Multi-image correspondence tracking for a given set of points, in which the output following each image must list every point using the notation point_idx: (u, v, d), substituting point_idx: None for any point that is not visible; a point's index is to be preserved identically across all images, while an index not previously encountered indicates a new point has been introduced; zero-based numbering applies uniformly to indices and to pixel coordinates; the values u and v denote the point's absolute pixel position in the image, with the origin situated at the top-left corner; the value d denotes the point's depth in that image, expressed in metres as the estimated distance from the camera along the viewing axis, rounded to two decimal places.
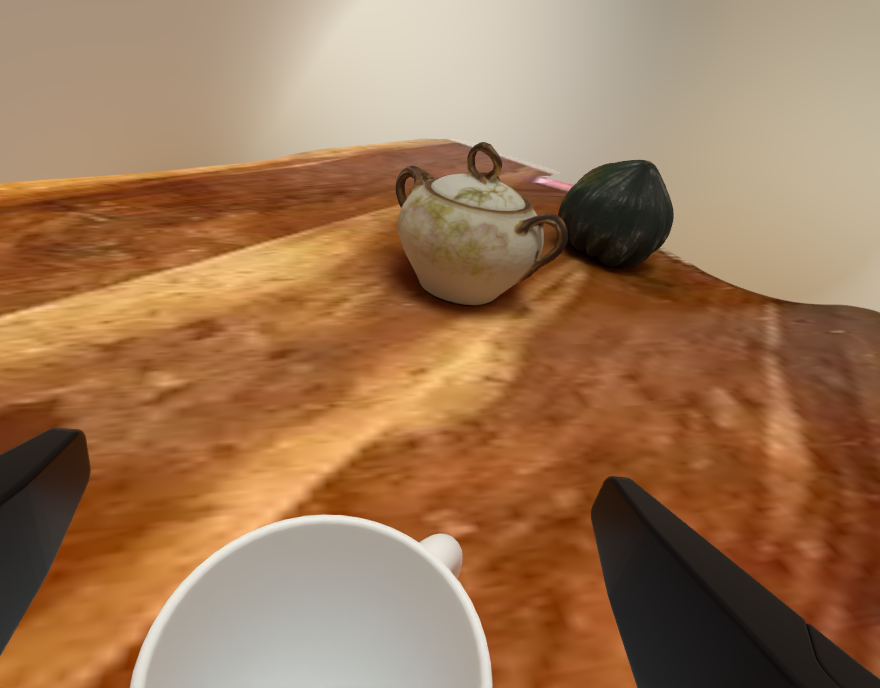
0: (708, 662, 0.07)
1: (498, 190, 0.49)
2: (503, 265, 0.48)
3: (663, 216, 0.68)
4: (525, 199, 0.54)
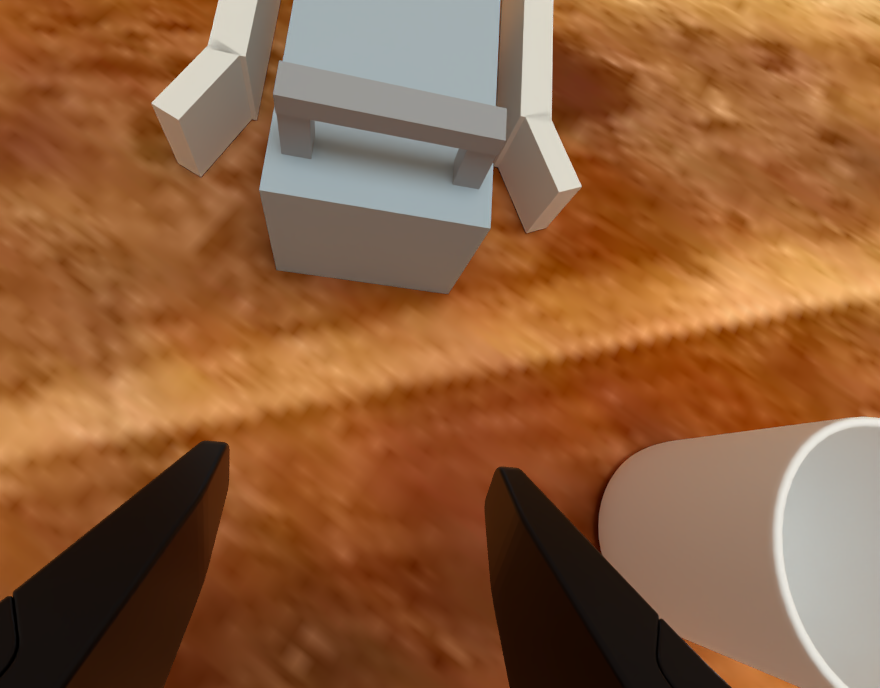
0: (559, 660, 0.07)
1: None
2: None
3: None
4: None
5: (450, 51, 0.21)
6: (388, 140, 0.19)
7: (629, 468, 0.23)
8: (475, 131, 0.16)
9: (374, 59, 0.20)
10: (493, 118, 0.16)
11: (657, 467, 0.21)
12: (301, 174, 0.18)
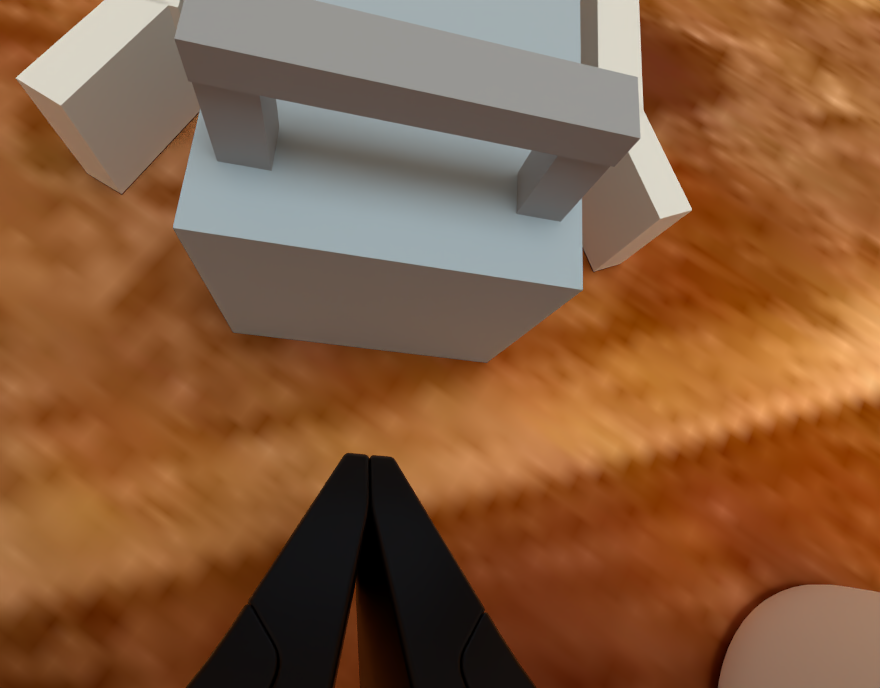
0: (382, 656, 0.06)
1: None
2: None
3: None
4: None
5: None
6: (408, 136, 0.11)
7: (768, 640, 0.15)
8: (583, 120, 0.08)
9: (383, 3, 0.12)
10: (615, 95, 0.09)
11: (833, 664, 0.13)
12: (254, 197, 0.10)
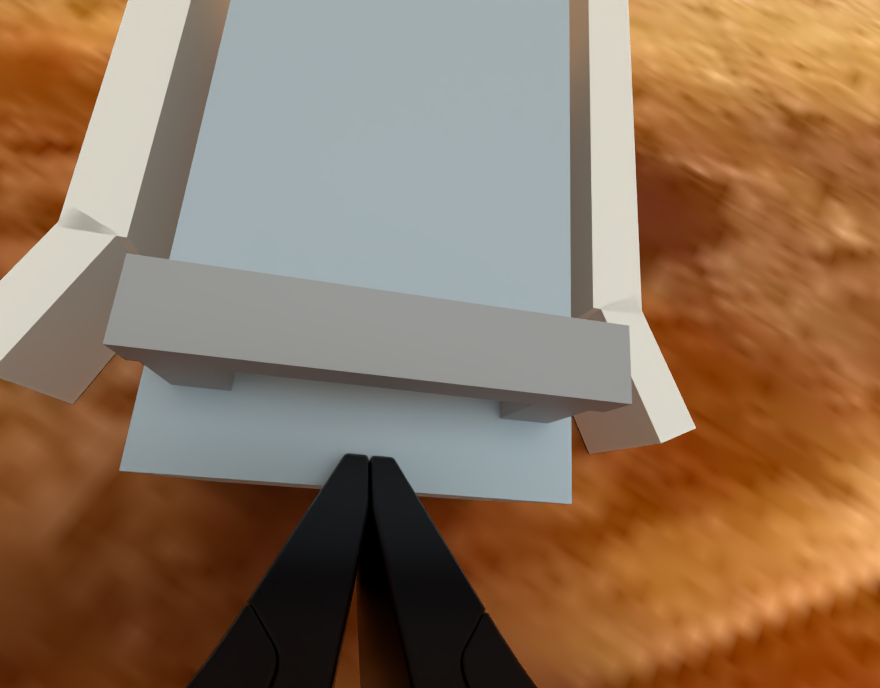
0: (383, 656, 0.06)
1: None
2: None
3: None
4: None
5: (490, 157, 0.12)
6: None
7: None
8: (568, 387, 0.07)
9: (358, 180, 0.11)
10: (604, 352, 0.08)
11: None
12: (210, 425, 0.09)
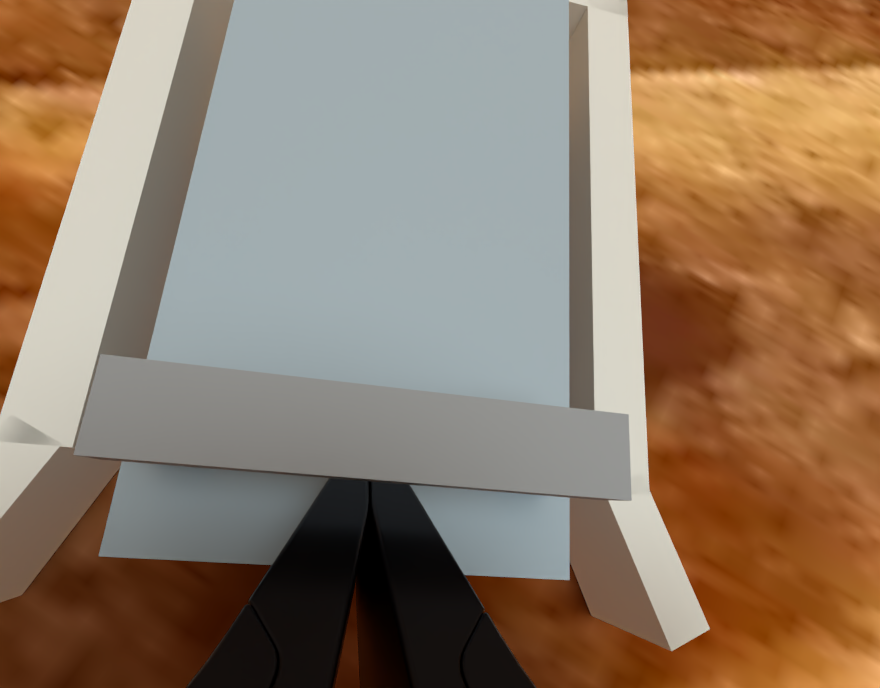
0: (382, 656, 0.06)
1: None
2: None
3: None
4: None
5: (487, 212, 0.12)
6: None
7: None
8: (564, 484, 0.07)
9: (351, 239, 0.11)
10: (602, 444, 0.07)
11: None
12: (195, 505, 0.09)
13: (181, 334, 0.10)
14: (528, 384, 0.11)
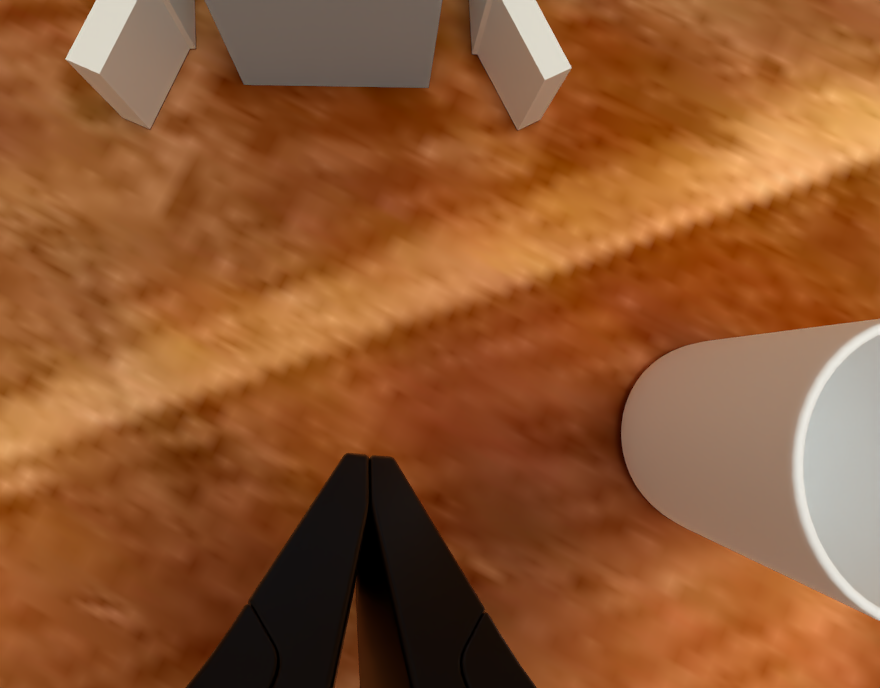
0: (382, 656, 0.06)
1: None
2: None
3: None
4: None
5: None
6: None
7: (649, 379, 0.22)
8: None
9: None
10: None
11: (677, 379, 0.20)
12: None
13: None
14: None
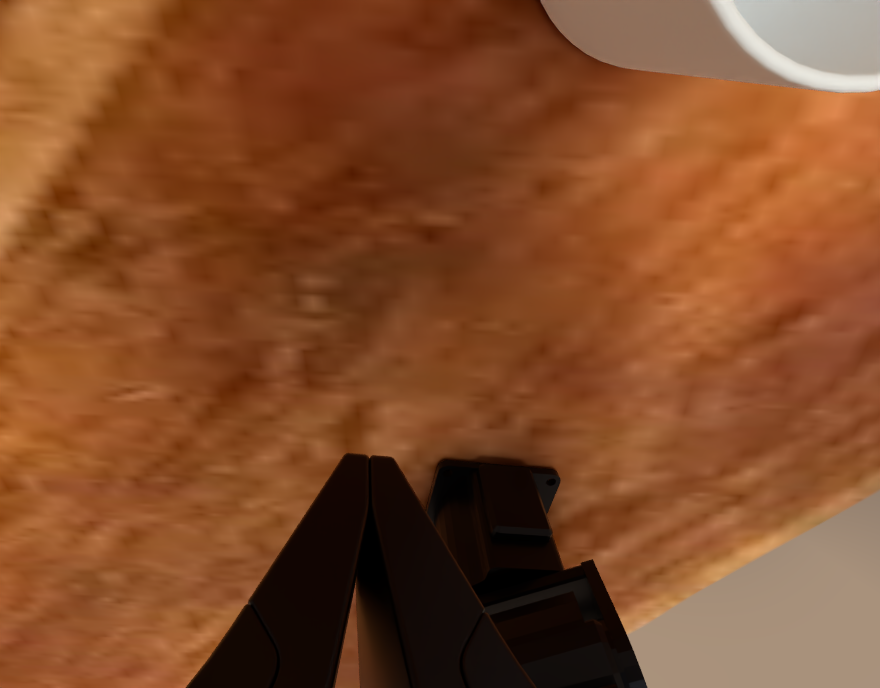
0: (382, 656, 0.06)
1: None
2: None
3: None
4: None
5: None
6: None
7: None
8: None
9: None
10: None
11: None
12: None
13: None
14: None
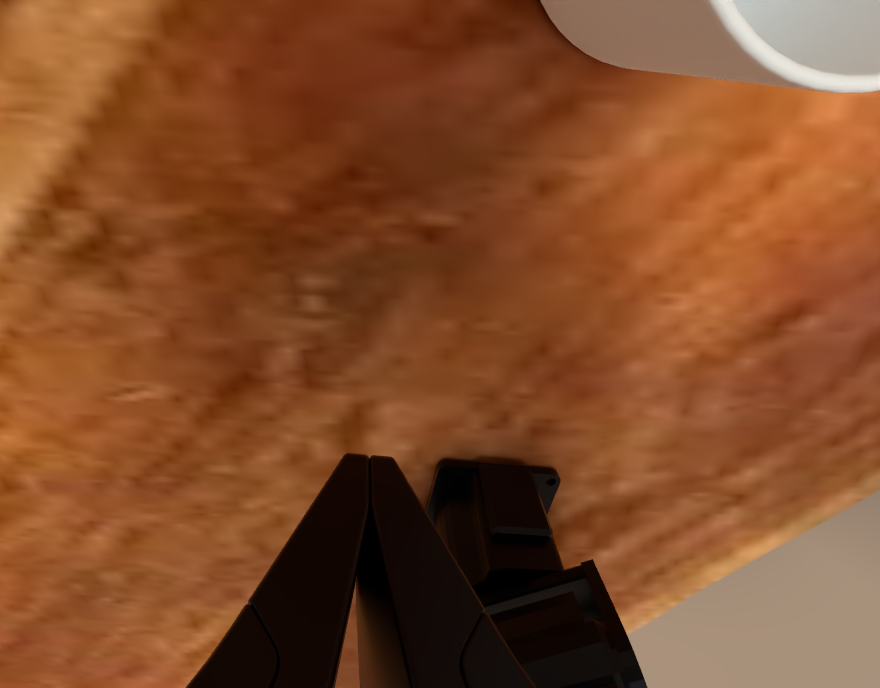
0: (382, 656, 0.06)
1: None
2: None
3: None
4: None
5: None
6: None
7: None
8: None
9: None
10: None
11: None
12: None
13: None
14: None
